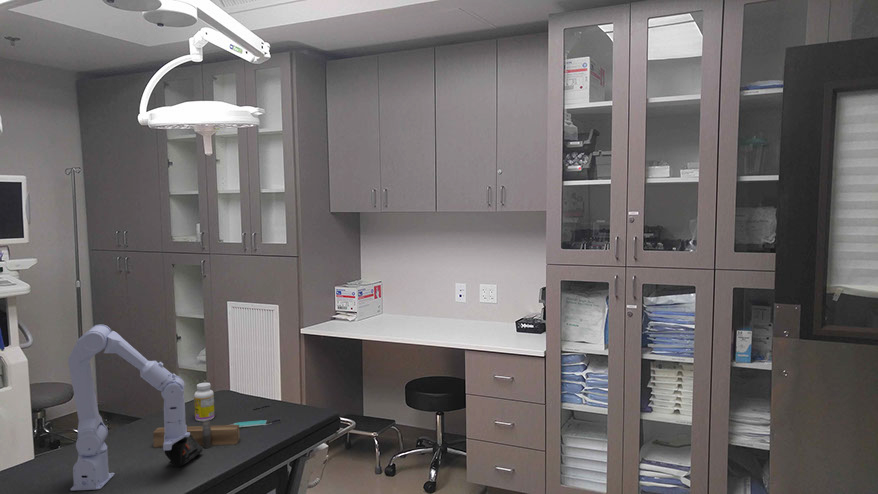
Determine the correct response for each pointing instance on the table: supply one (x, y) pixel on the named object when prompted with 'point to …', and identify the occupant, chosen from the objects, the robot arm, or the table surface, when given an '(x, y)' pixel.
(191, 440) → the battery
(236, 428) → the bar
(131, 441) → the table surface
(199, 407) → the supplement bottle
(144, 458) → the table surface
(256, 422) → the surgical mask
